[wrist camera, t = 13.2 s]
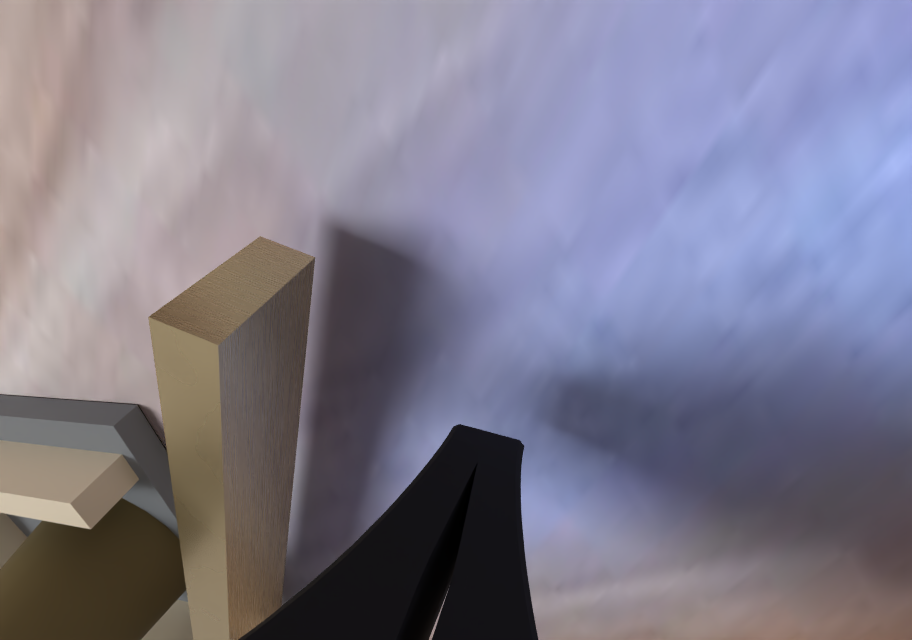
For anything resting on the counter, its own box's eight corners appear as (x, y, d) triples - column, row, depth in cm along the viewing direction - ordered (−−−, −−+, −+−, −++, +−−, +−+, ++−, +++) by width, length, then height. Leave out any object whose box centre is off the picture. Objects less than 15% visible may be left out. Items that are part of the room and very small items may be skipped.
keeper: (279, 666, 23) (238, 746, 21) (246, 651, 23) (201, 729, 21) (324, 260, 10) (230, 350, 8) (251, 232, 11) (136, 312, 8)
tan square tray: (274, 623, 24) (234, 695, 22) (68, 576, 28) (15, 632, 26) (137, 404, 18) (57, 475, 15) (-105, 387, 22) (-196, 439, 19)
